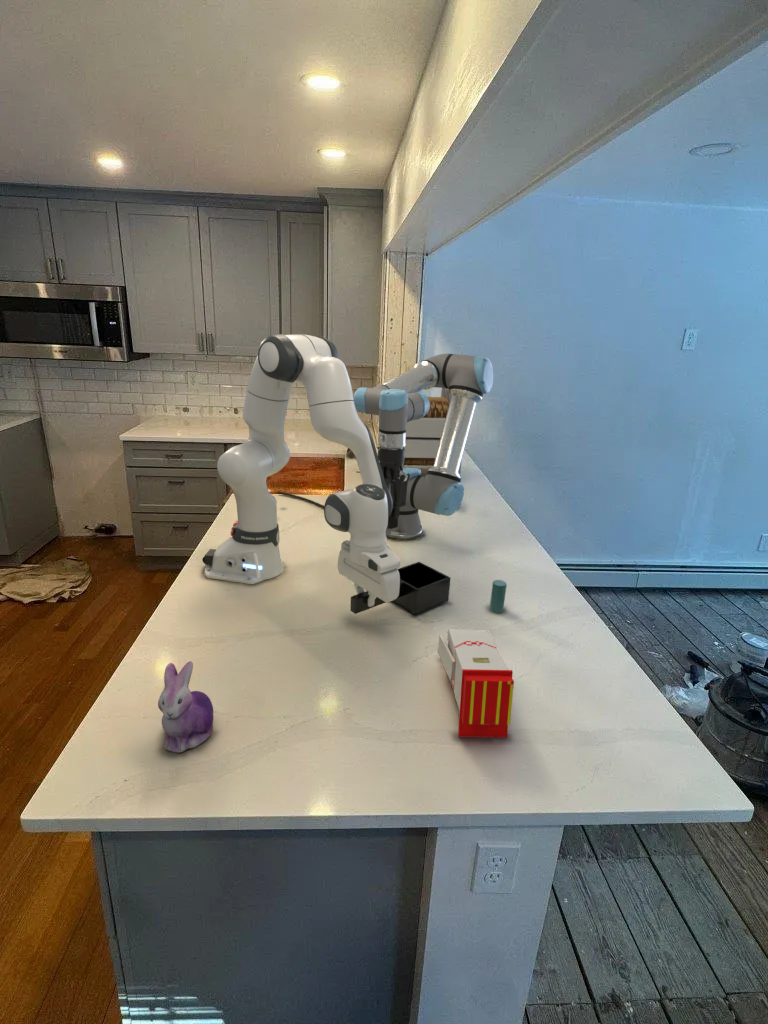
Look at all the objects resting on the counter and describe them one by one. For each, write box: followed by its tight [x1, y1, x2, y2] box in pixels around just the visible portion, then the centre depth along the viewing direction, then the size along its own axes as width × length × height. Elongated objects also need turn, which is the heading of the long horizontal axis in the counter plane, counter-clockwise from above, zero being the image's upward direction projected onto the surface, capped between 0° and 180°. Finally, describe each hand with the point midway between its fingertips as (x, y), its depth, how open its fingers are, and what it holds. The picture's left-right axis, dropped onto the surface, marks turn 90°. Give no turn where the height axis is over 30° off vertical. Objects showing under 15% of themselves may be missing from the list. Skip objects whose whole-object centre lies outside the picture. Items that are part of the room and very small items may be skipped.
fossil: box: [345, 447, 355, 459], centre depth 304 cm, size 22×10×15 cm
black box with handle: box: [349, 561, 451, 615], centre depth 148 cm, size 12×28×7 cm, turn 130°
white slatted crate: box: [402, 388, 463, 476], centre depth 268 cm, size 34×33×41 cm
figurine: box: [157, 660, 214, 753], centre depth 100 cm, size 9×10×15 cm
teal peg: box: [489, 579, 507, 614], centre depth 151 cm, size 4×4×8 cm
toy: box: [437, 628, 515, 738], centre depth 117 cm, size 12×13×30 cm
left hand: (365, 602), depth 141 cm, fingers closed on black box with handle
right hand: (388, 525), depth 165 cm, fingers closed on walnut peg, 3 cm apart
